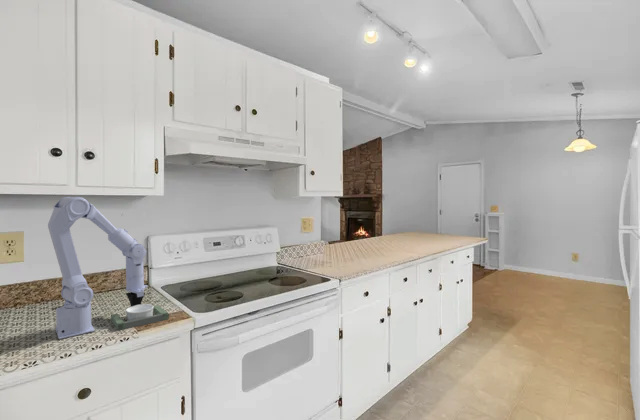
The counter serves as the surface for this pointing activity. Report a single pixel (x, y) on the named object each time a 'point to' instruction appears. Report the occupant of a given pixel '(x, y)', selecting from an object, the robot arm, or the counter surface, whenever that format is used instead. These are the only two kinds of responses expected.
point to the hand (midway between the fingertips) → (135, 311)
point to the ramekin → (139, 311)
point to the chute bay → (159, 316)
